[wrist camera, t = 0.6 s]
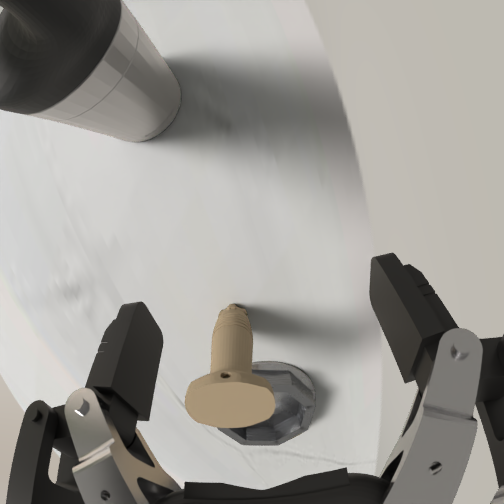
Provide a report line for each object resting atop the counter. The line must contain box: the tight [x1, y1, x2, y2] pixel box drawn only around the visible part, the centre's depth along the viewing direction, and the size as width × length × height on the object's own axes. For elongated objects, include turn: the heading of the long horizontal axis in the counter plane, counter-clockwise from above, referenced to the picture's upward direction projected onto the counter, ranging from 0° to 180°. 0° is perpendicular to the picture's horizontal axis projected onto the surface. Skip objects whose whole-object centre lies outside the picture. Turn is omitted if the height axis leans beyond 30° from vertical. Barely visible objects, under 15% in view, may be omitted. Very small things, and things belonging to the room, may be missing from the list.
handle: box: [185, 304, 275, 428], centre depth 25 cm, size 5×6×15 cm
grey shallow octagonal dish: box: [217, 361, 316, 445], centre depth 34 cm, size 15×14×4 cm
